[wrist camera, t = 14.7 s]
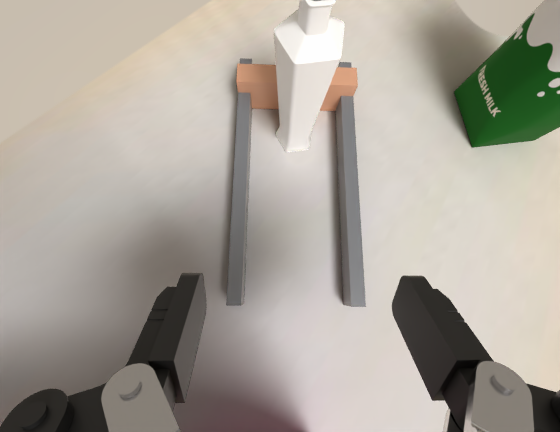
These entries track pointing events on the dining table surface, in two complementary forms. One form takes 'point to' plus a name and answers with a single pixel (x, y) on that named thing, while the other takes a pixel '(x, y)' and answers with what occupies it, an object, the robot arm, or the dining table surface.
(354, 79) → the guide channel
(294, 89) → the white faceted vase
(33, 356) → the dining table surface
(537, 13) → the milk carton
